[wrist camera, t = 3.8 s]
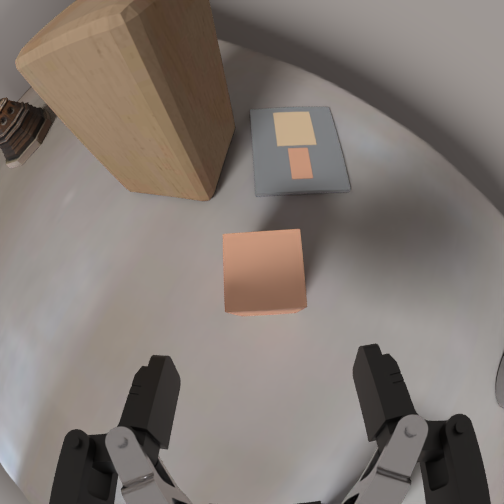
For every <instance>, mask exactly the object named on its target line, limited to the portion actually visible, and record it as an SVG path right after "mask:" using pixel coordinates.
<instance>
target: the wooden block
mask: <svg viewBox="0 0 504 504" xmlns="http://www.w3.org/2000/svg"><path fill="white" fill-rule="evenodd" d="M15 64H16V67H17V69H18V71H19V72H20V73H21V74H22V75H23V77H24V78H25V79H26V80H27V81H28V83H29V84H30V85H31V86H32V87H33V89H34V90H35V91H36V92H37V93H38V94H39V96H40V97H41V98H42V99H43V100H44V101H45V102H46V104H47V105H48V106H49V107H50V108H51V109H52V110H53V112H54V113H55V114H56V115H57V116H58V117H59V118H60V119H61V120H62V122H63V123H64V124H65V125H66V126H67V127H68V128H69V129H70V130H71V131H72V133H73V134H74V135H75V136H76V137H77V138H78V139H79V140H80V141H81V142H82V143H83V144H84V145H85V147H86V148H87V149H88V150H89V151H90V152H91V153H92V154H93V155H94V156H95V157H96V158H97V159H98V160H99V161H100V162H101V163H102V164H103V165H104V166H105V167H106V168H107V170H108V171H109V172H110V173H111V174H112V175H113V176H114V177H115V178H116V179H117V180H118V181H119V182H120V183H121V184H122V185H123V186H124V187H125V188H126V189H128V190H129V191H130V192H139V193H147V194H155V195H163V196H171V197H178V198H185V199H192V200H199V201H208V200H210V199H211V198H212V196H213V194H214V192H215V189H216V186H217V182H218V179H219V176H220V173H221V170H222V166H223V163H224V160H225V157H226V154H227V151H228V148H229V145H230V142H231V139H232V136H233V133H234V130H235V123H234V118H233V113H232V108H231V103H230V98H229V93H228V89H227V84H226V79H225V74H224V69H223V64H222V60H221V55H220V50H219V45H218V40H217V36H216V31H215V26H214V22H213V17H212V12H211V7H210V3H209V0H76V1H75V2H74V3H72V4H71V5H70V6H68V7H67V8H66V9H65V10H63V11H62V12H61V13H60V14H59V15H57V16H56V17H55V18H54V19H53V20H51V21H50V22H49V23H48V24H47V25H46V26H45V27H44V28H42V29H41V30H40V31H39V32H38V33H37V34H36V35H35V36H34V37H33V38H32V39H31V40H30V41H29V42H28V43H27V44H26V45H25V46H24V47H23V48H22V49H21V51H20V53H19V55H18V57H17V59H16V61H15Z"/></svg>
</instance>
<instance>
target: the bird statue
mask: <svg viewBox="0 0 504 504" xmlns="http://www.w3.org/2000/svg"><path fill="white" fill-rule="evenodd" d="M51 124H52V121H51V118H50V115H49V113H48V112H47V110H46V109H42V108H41V107H40V108H36V107H33V106H32V105H29V104H28V103H25V104H24V103H23V102H21V103H19V102H15V101H10V100H8V98H2V99H1V100H0V148H1V149H2V151H3V153H4V156H5V158H6V165H7V166H9V167H10V168H14V167H17V166H21V165H23V164H24V163H25V161H26V160H27V159H28V158H29V157H30V156H31V155H32V154H33V153H34V151H35V150H36V149H37V148H38V147H39V146H40V145H41V143H42V141H43V139H44V137H45V135H46V133H47V132H48V130H49V128H50V126H51Z"/></svg>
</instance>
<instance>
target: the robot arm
mask: <svg viewBox="0 0 504 504" xmlns="http://www.w3.org/2000/svg"><path fill="white" fill-rule="evenodd" d="M353 379H354V383H355V387H356V390H357V394H358V398H359V402H360V406H361V410H362V414H363V419H364V423H365V427H366V432H367V436H368V441H369V442H371V441H375V440H376V441H377V445H378V447H377V448H376V450H375V452H374V454H373V456H372V458H371V460H370V461H369V463H368V465H367V467H366V468H365V470H364V472H363V474H362V475H361V477H360V478H359V480H358V482H357V483H356V484H355V485H354V487H353V488H352V489H351V490H350V492H349V493H348V495H347V496H346V497H345V499H344V500H343V502H342V503H341V504H401V503H402V501H403V499H404V498H405V496H406V494H407V492H408V490H409V487H410V485H411V480H410V476H411V473H412V471H413V469H414V467H415V464H416V462H420V467H421V473H422V479H423V485H424V492H425V500H426V504H491V502H490V496H489V489H488V484H487V479H486V474H485V469H484V465H483V461H482V456H481V453H480V449H479V445H478V442H477V438H476V435H475V432H474V428H473V425H472V422H471V420H470V419H469V418H468V417H467V416H466V415H463V414H456V415H454V416H452V417H451V418H450V419H449V420H448V421H428V420H425V419H423V418H422V417H421V416H419V415H418V414H417V413H416V411H415V409H414V406H413V403H412V401H411V398H410V395H409V392H408V390H407V387H406V384H405V382H404V379H403V377H402V374H401V373H400V369H399V367H398V364H397V362H396V361H395V360H394V359H393V358H392V357H391V356H390V354H384V355H382V353H381V350H380V348H379V346H378V344H370V345H364V346H360V347H359V349H358V353H357V356H356V359H355V363H354V366H353ZM179 391H180V376H179V374H178V372H177V370H176V368H175V365H174V363H173V361H172V359H171V357H170V356H161V355H153V356H152V357H151V358H150V361H149V364H148V366H142V367H141V368H140V369H139V371H138V372H137V373H136V374H135V377H134V379H133V382H132V387H131V388H130V391H129V394H128V397H127V400H126V403H125V407H124V410H123V413H122V416H121V419H120V422H119V424H118V426H117V427H115V428H113V429H111V430H110V431H109V432H108V433H107V434H98V435H87V434H86V433H85V432H83V431H82V430H78V429H75V430H72V431H70V432H69V433H67V435H66V436H65V439H64V442H63V445H62V449H61V453H60V456H59V460H58V464H57V468H56V473H55V477H54V482H53V486H52V491H51V496H50V502H49V504H114V500H115V493H116V486H117V479H118V475H119V478H120V480H121V482H122V484H123V487H122V488H121V493H122V496H123V498H124V500H125V502H126V504H192V502H191V501H190V500H189V498H188V497H187V496H186V495H185V494H184V493H183V492H182V491H181V490H180V489H179V487H178V486H177V485H176V483H175V481H174V480H173V478H172V477H171V475H170V474H169V472H168V470H167V469H166V467H165V465H164V464H163V462H162V460H161V459H160V457H159V449H160V448H161V449H168V446H169V441H170V435H171V430H172V425H173V420H174V415H175V410H176V405H177V400H178V395H179ZM496 398H497V401H498V404H499V405H500V406H501V407H502V408H504V356H503V358H502V361H501V364H500V367H499V371H498V375H497V381H496ZM299 504H321V501H316V502H308V503H299Z"/></svg>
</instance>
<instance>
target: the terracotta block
mask: <svg viewBox="0 0 504 504" xmlns="http://www.w3.org/2000/svg"><path fill="white" fill-rule="evenodd" d="M223 266H224V299H225V312H227V313H231V314H235V315H239V316H257V315H274V314H288V313H296V312H298V311H300V310H302V309H304V308H306V307H307V300H306V287H305V275H304V264H303V253H302V244H301V234H300V229H289V230H274V231H259V232H245V233H232V234H223Z"/></svg>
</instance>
